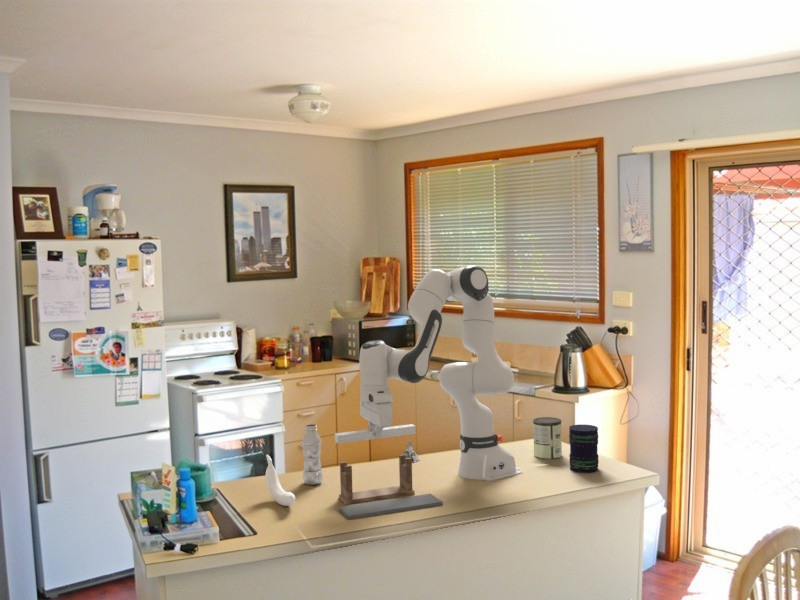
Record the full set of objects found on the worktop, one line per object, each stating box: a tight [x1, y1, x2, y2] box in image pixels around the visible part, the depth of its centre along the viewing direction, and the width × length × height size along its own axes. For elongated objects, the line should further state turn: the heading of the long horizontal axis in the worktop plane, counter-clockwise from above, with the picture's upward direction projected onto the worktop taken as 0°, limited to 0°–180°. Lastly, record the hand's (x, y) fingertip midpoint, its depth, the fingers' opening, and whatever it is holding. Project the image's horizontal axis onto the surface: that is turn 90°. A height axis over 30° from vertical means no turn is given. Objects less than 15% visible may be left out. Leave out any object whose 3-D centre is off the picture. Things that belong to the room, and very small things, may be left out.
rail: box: [334, 423, 417, 444], centre depth 250 cm, size 26×3×2 cm, turn 112°
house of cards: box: [403, 441, 421, 463], centre depth 293 cm, size 9×9×8 cm
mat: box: [338, 493, 444, 520], centre depth 239 cm, size 30×9×1 cm, turn 112°
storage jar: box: [568, 424, 599, 474], centre depth 275 cm, size 10×10×15 cm
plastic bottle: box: [301, 423, 324, 486], centre depth 265 cm, size 6×7×20 cm
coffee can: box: [532, 416, 563, 461], centre depth 292 cm, size 10×10×14 cm
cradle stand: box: [338, 453, 416, 505], centre depth 251 cm, size 23×7×12 cm, turn 112°
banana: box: [265, 454, 296, 507], centre depth 244 cm, size 5×19×15 cm, turn 35°
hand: (375, 436), depth 250 cm, fingers closed on rail, 3 cm apart
